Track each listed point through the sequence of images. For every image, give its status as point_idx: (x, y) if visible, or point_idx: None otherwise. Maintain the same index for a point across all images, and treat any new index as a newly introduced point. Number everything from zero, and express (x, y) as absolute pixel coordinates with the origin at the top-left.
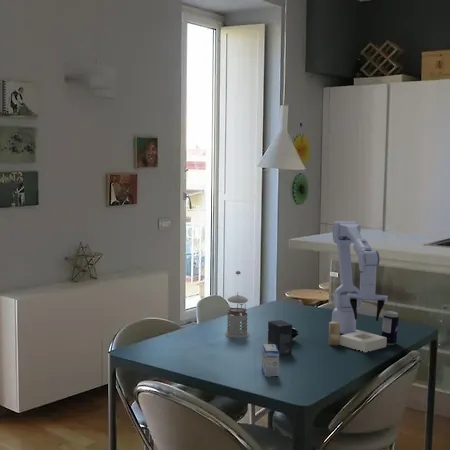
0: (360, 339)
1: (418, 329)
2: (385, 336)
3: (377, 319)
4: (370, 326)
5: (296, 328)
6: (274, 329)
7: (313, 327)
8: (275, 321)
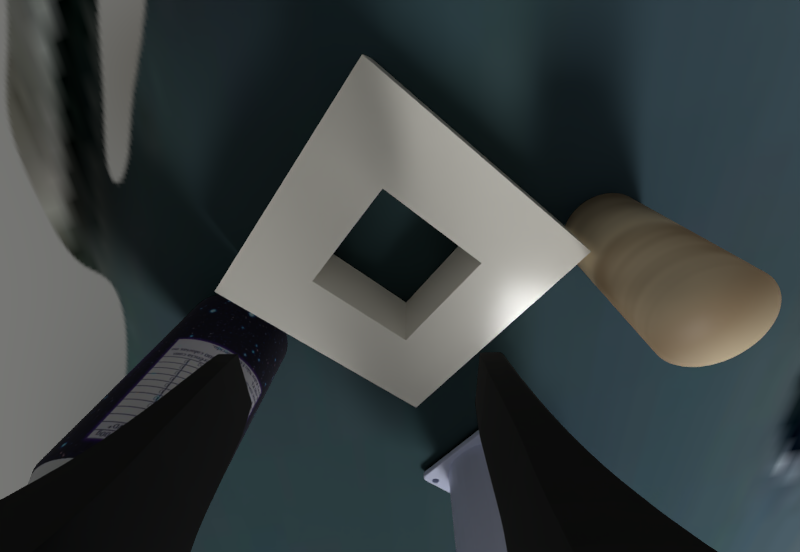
0: (415, 174)
1: None
2: (234, 325)
3: (209, 362)
4: (381, 544)
5: (767, 463)
6: None
7: (663, 491)
8: None
